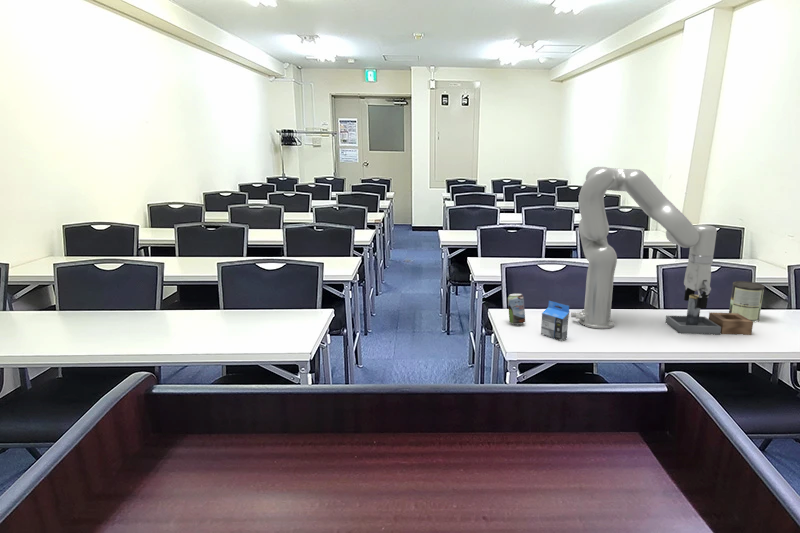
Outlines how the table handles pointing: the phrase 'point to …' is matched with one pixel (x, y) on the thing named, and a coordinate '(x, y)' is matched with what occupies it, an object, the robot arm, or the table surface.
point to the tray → (703, 326)
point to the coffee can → (747, 299)
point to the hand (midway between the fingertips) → (694, 304)
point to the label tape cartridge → (555, 321)
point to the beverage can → (516, 309)
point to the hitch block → (732, 323)
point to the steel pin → (692, 311)
